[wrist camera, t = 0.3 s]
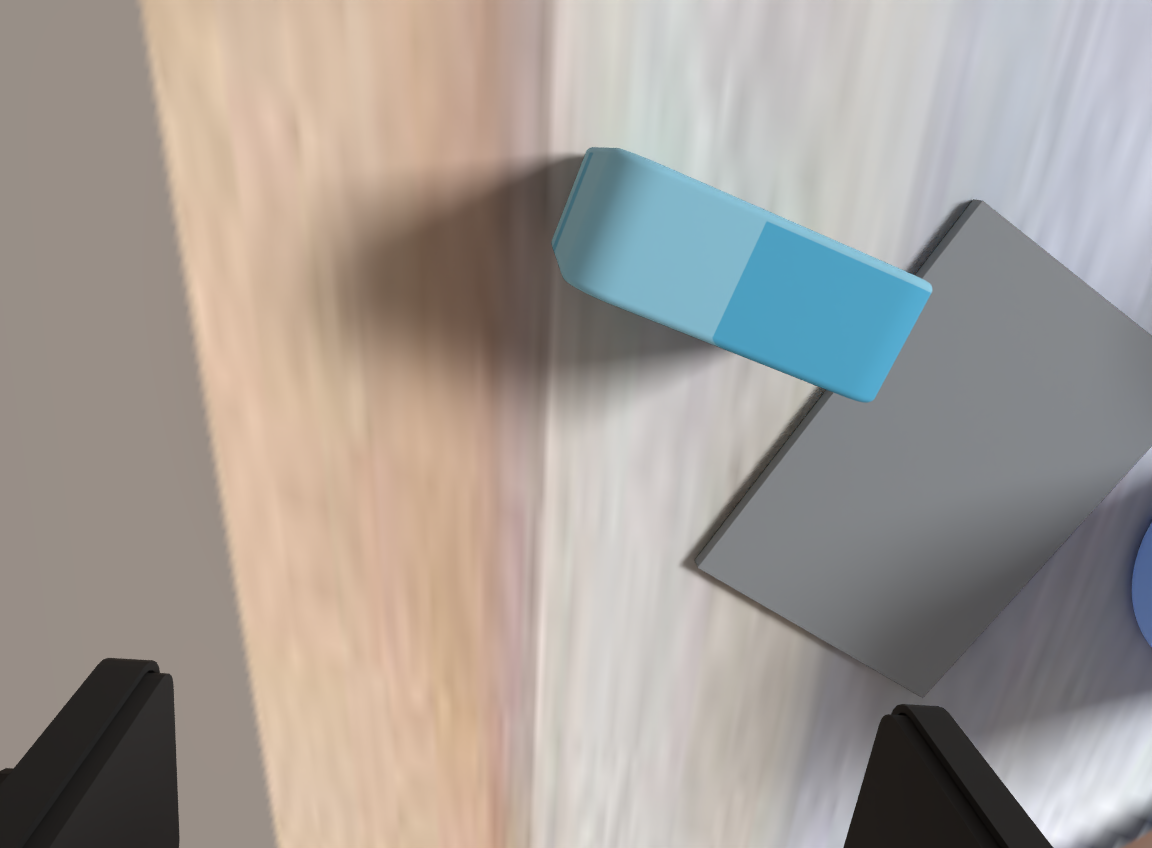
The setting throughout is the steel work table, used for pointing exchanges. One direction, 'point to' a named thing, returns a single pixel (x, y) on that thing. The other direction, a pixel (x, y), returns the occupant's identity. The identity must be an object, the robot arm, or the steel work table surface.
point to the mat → (948, 461)
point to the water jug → (1143, 586)
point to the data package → (734, 274)
